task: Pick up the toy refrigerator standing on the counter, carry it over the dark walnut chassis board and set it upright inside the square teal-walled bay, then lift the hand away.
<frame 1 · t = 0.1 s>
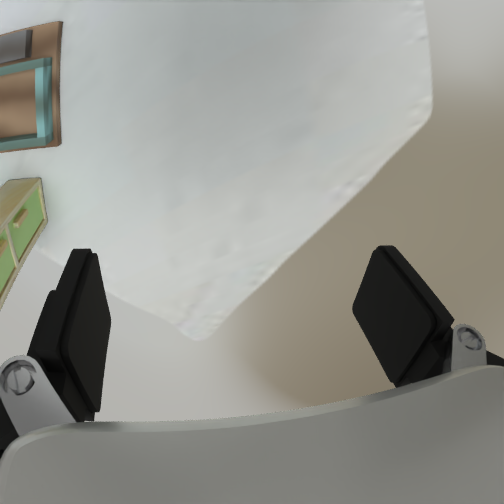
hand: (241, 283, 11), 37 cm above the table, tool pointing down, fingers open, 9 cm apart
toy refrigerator: (30, 200, 42), on the table
chassis board: (18, 89, 32), on the table
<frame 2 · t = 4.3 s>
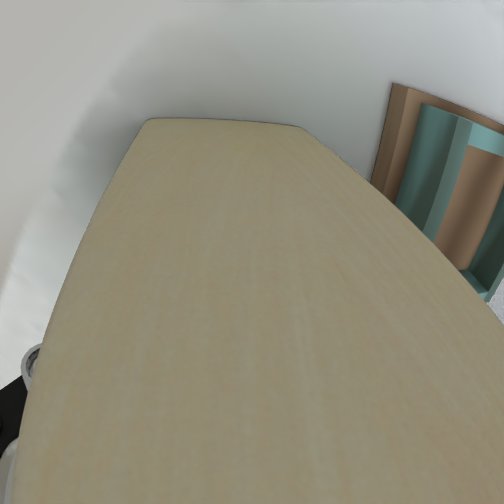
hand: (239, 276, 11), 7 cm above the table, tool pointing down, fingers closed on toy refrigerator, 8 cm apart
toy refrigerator: (217, 185, 17), on the table, touching gripper
chassis board: (460, 203, 21), on the table
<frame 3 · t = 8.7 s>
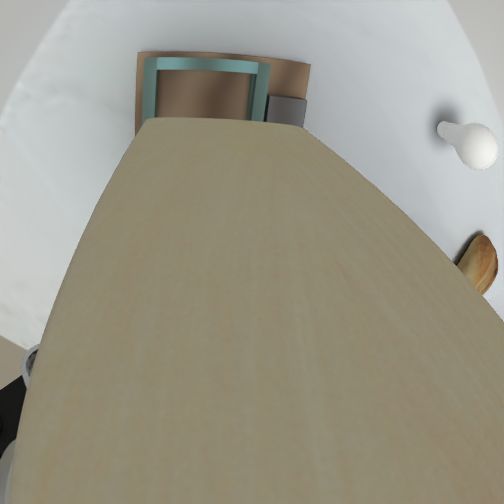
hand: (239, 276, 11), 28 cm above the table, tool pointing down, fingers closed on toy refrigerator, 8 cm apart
lightbulb: (438, 127, 39), on the table
bread roll: (463, 260, 57), on the table
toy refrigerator: (217, 185, 17), point 20 cm above the table, touching gripper
chassis board: (219, 114, 33), on the table
when the fingers open (10 cm above the table, at t = 13.1 s): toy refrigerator stays where it is, resting on chassis board.
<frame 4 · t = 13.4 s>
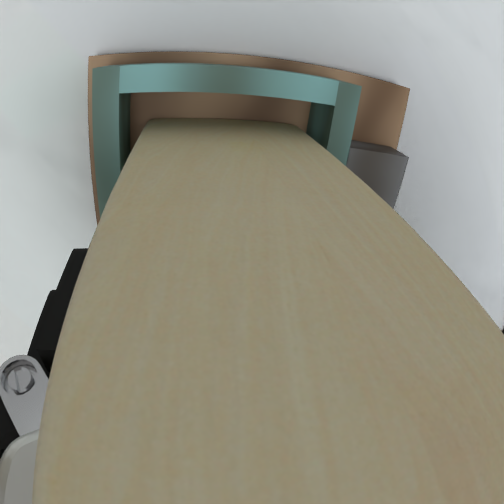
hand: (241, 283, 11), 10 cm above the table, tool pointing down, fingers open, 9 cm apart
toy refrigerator: (216, 181, 18), point 1 cm above the table, touching chassis board
chassis board: (247, 171, 19), on the table
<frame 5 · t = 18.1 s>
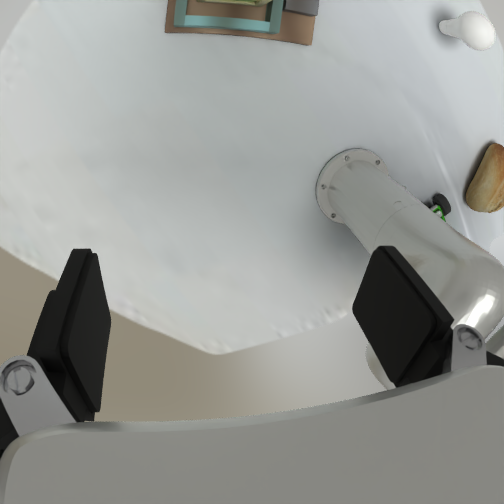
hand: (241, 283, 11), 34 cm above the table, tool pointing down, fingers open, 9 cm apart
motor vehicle: (422, 236, 59), on the table
lightbulb: (440, 27, 35), on the table
bread roll: (480, 172, 52), on the table
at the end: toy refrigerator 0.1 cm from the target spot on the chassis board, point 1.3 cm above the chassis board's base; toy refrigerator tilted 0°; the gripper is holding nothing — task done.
